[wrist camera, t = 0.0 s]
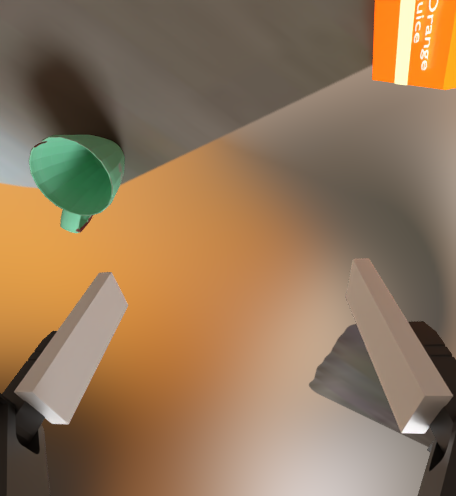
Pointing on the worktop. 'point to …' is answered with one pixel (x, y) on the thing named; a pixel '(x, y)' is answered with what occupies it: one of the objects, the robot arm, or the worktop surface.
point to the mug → (77, 175)
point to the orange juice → (415, 43)
